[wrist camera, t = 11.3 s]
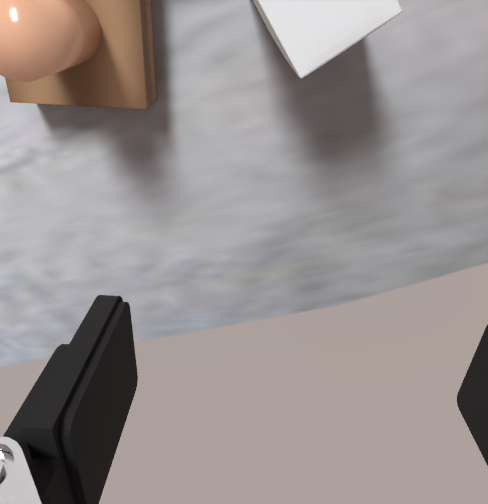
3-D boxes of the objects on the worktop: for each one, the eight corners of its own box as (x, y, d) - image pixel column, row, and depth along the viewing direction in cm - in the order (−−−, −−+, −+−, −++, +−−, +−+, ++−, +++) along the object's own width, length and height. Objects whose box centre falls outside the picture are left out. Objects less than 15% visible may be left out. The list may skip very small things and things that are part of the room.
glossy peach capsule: (95, -9, 32) (45, -12, 25) (106, 64, 35) (63, 82, 27) (28, -10, 32) (-43, -13, 25) (44, 63, 35) (-16, 81, 27)
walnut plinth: (148, -53, 34) (135, -61, 31) (156, 101, 40) (146, 109, 37) (1, -60, 34) (-28, -69, 31) (32, 94, 40) (10, 102, 37)
